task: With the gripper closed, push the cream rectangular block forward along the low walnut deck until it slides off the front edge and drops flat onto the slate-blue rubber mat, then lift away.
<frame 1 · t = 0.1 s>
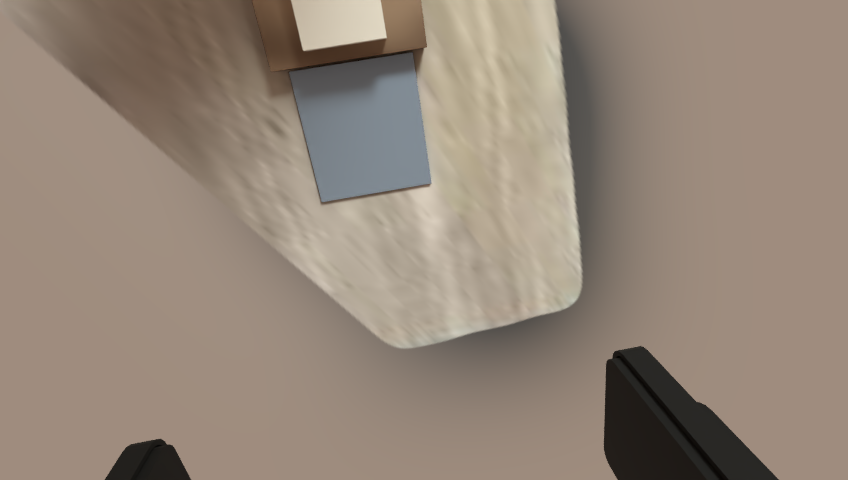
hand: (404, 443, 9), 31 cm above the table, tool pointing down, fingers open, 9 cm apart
mat: (364, 130, 37), on the table
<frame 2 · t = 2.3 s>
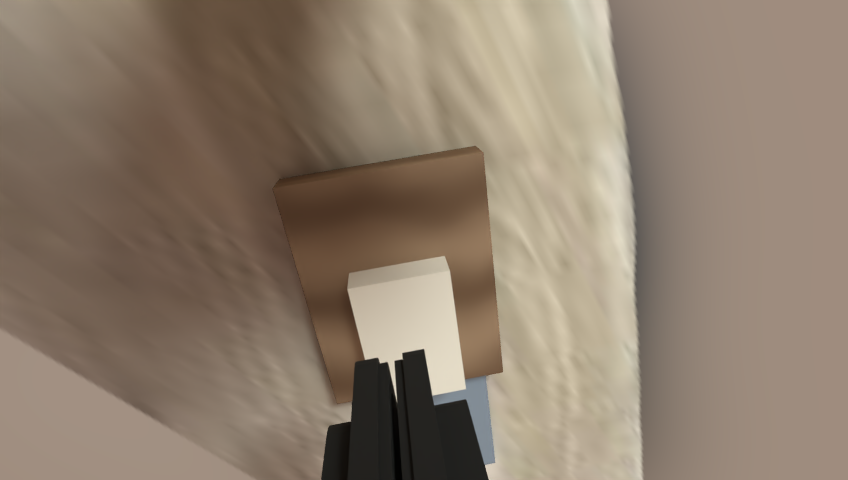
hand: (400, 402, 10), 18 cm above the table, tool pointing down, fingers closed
deck: (400, 277, 29), on the table
mat: (428, 424, 35), on the table
cream rectangular block: (408, 324, 29), point 2 cm above the table, touching deck
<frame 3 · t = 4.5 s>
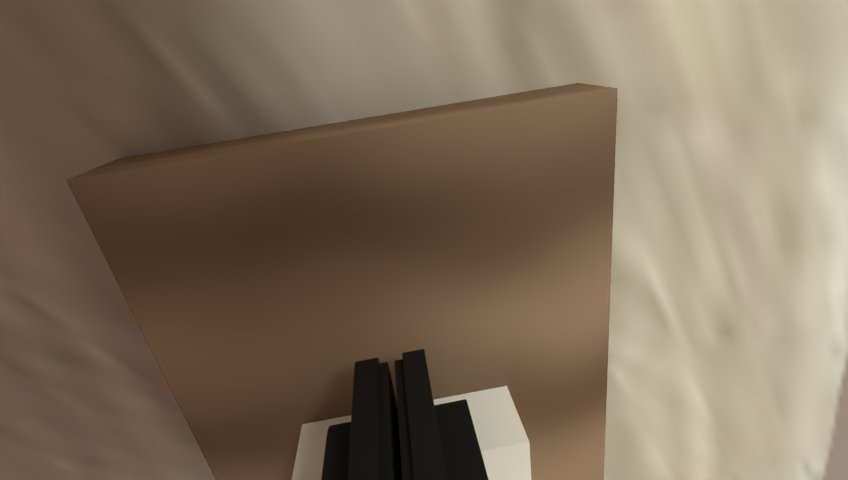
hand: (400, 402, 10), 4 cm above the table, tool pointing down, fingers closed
deck: (403, 364, 14), on the table
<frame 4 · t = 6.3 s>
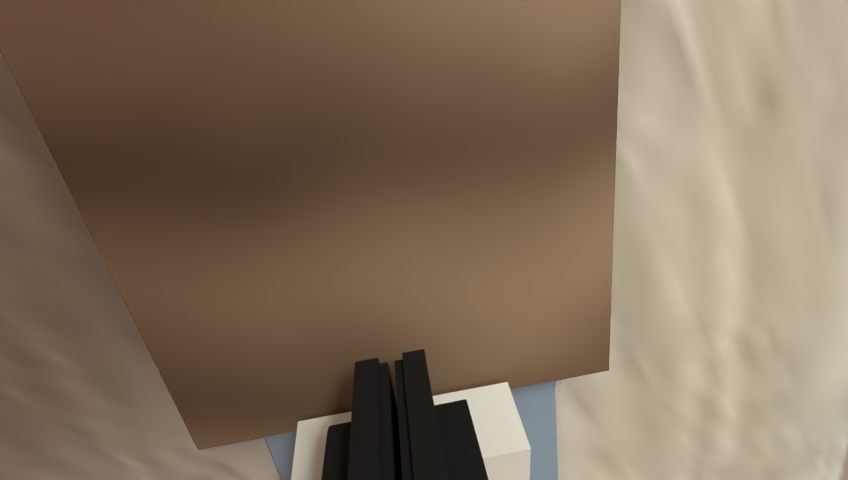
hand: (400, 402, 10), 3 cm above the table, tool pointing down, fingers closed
deck: (352, 117, 11), on the table
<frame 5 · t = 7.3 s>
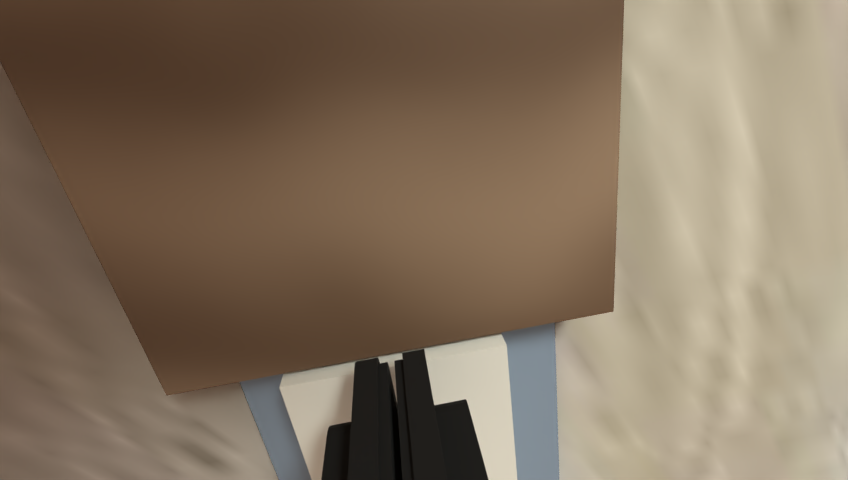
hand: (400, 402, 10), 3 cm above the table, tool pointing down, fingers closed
deck: (332, 25, 10), on the table
mat: (419, 445, 16), on the table
cream rectangular block: (413, 432, 15), resting on mat
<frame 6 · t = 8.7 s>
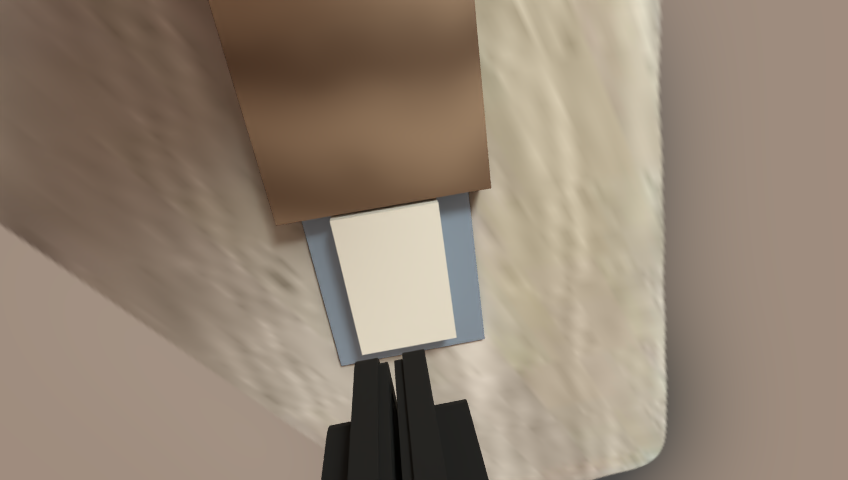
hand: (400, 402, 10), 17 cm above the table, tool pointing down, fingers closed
deck: (356, 50, 23), on the table
mat: (399, 280, 28), on the table
cream rectangular block: (396, 268, 27), resting on mat
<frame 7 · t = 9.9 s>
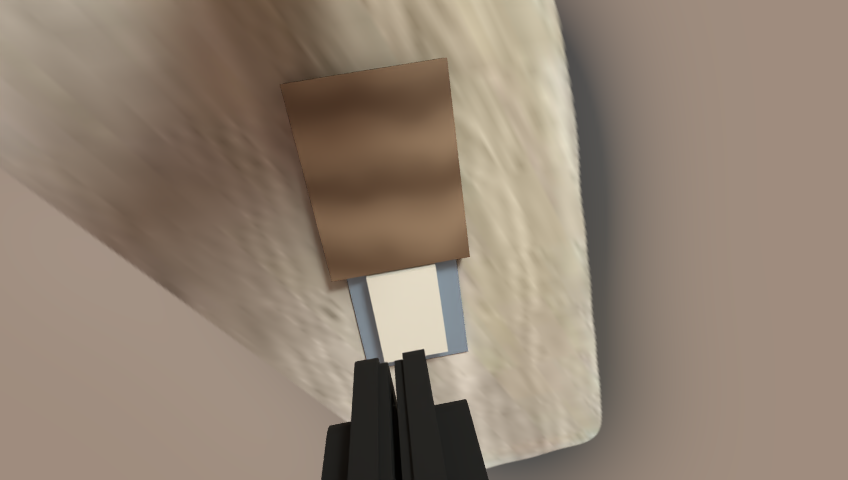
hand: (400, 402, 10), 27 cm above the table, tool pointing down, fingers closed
deck: (383, 173, 36), on the table
mat: (409, 312, 41), on the table
cream rectangular block: (407, 305, 40), resting on mat
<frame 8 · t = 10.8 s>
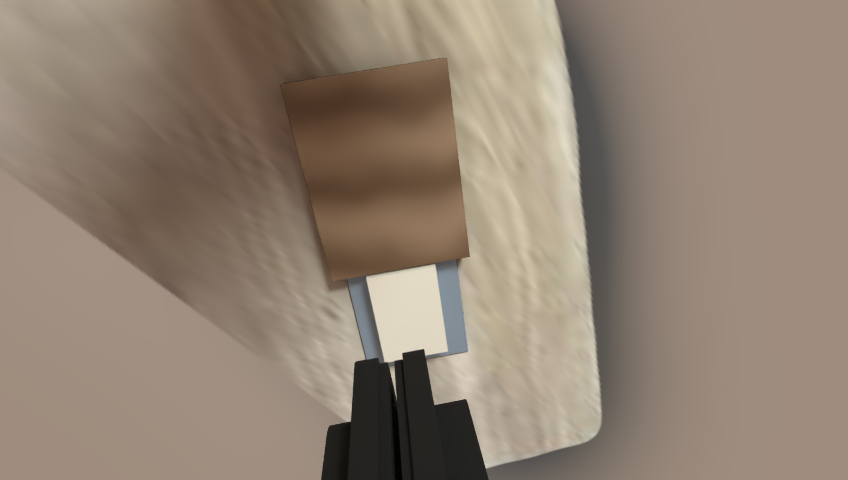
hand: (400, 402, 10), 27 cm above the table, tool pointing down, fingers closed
deck: (383, 173, 36), on the table
mat: (409, 312, 41), on the table
cream rectangular block: (407, 305, 40), resting on mat
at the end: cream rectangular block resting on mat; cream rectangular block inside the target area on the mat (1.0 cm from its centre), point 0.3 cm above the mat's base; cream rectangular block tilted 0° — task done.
